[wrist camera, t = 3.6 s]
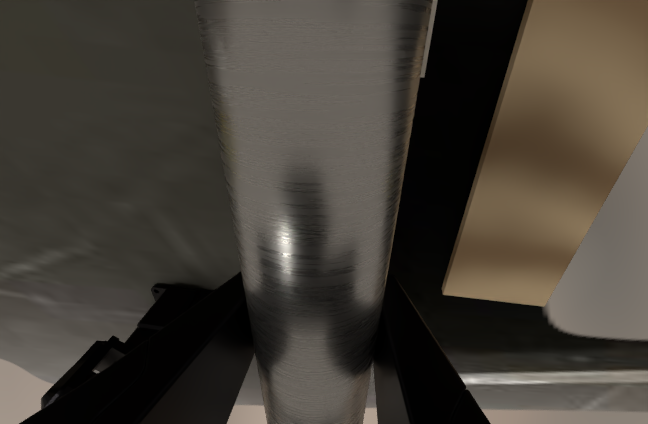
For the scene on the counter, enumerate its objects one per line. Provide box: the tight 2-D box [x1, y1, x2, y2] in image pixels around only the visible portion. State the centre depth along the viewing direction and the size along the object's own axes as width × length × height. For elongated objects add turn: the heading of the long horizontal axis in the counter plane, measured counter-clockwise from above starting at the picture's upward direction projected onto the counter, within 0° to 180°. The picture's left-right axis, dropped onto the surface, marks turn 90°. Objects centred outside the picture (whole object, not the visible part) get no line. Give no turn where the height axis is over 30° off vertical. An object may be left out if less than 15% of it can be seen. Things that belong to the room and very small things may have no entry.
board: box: [442, 0, 648, 307], centre depth 17 cm, size 21×7×1 cm, turn 179°
